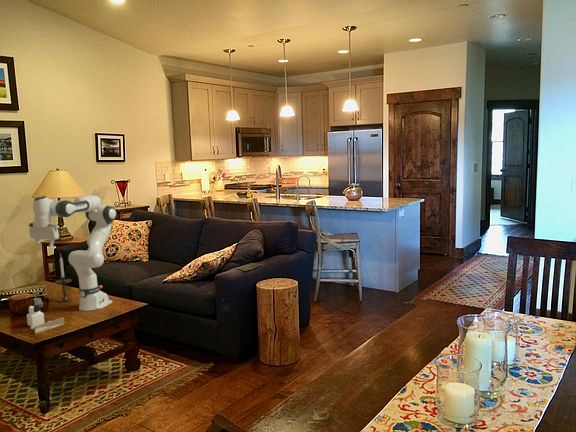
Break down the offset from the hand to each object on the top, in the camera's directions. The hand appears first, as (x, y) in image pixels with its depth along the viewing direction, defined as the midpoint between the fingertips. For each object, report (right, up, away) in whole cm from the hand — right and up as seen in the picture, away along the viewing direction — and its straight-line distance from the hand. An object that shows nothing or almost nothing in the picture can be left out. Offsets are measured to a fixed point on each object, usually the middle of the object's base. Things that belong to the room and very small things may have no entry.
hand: (45, 246), depth 288 cm
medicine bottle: (-8, -48, +5) cm, 49 cm away
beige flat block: (0, -49, 0) cm, 49 cm away
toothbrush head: (-31, -44, +47) cm, 71 cm away
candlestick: (-12, -42, +52) cm, 68 cm away
